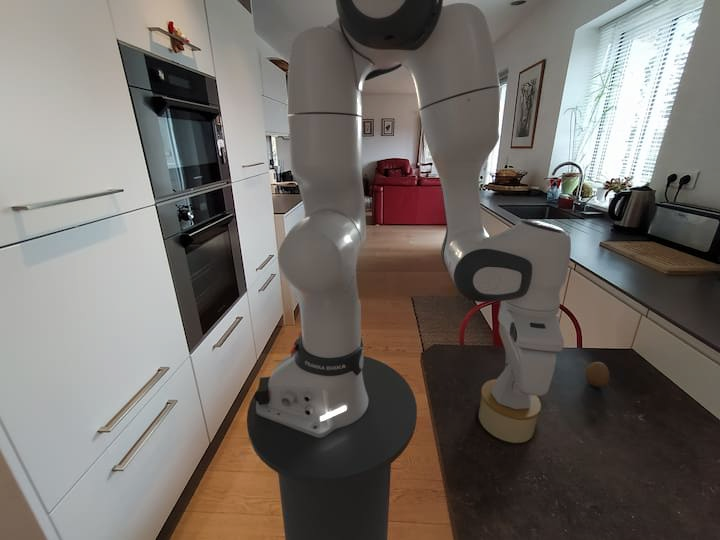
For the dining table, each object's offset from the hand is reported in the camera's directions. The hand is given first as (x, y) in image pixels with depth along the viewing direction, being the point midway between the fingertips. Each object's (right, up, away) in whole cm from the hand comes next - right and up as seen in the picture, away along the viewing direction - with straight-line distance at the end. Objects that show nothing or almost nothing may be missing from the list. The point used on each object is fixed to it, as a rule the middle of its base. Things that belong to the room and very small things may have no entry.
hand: (513, 381), depth 60 cm
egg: (+25, -6, +14) cm, 29 cm away
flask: (0, -4, +1) cm, 4 cm away
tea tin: (0, -9, +3) cm, 10 cm away
